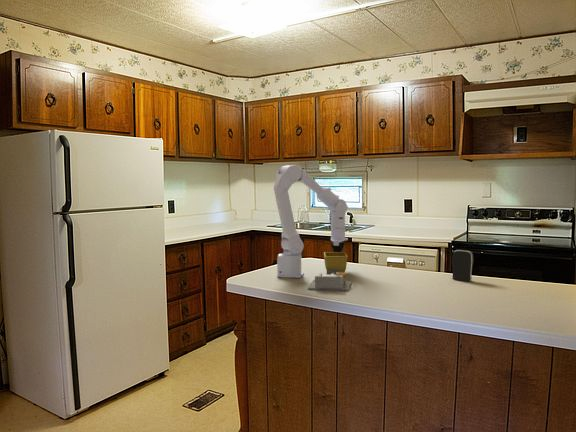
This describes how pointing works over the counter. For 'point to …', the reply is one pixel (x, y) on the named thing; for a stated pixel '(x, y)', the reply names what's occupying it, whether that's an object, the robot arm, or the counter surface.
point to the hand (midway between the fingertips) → (338, 260)
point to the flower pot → (335, 261)
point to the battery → (462, 265)
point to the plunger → (333, 273)
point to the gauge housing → (329, 283)
